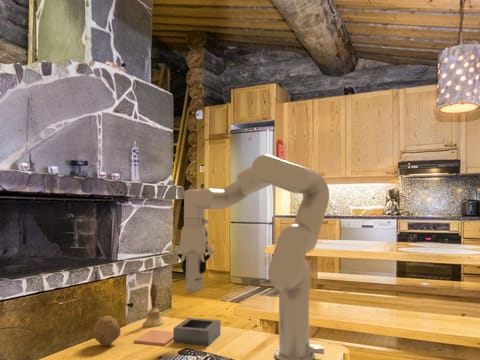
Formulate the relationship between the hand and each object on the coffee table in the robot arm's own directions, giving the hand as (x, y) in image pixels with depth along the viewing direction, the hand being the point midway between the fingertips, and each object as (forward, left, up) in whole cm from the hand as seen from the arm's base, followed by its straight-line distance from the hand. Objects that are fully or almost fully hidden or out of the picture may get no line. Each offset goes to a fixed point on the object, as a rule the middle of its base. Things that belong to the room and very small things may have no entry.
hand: (194, 271), depth 141 cm
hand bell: (+23, -12, -24) cm, 35 cm away
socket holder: (-1, 0, -24) cm, 24 cm away
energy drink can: (0, 0, -7) cm, 7 cm away
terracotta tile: (+13, +4, -24) cm, 27 cm away
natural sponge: (+27, +15, -24) cm, 39 cm away
